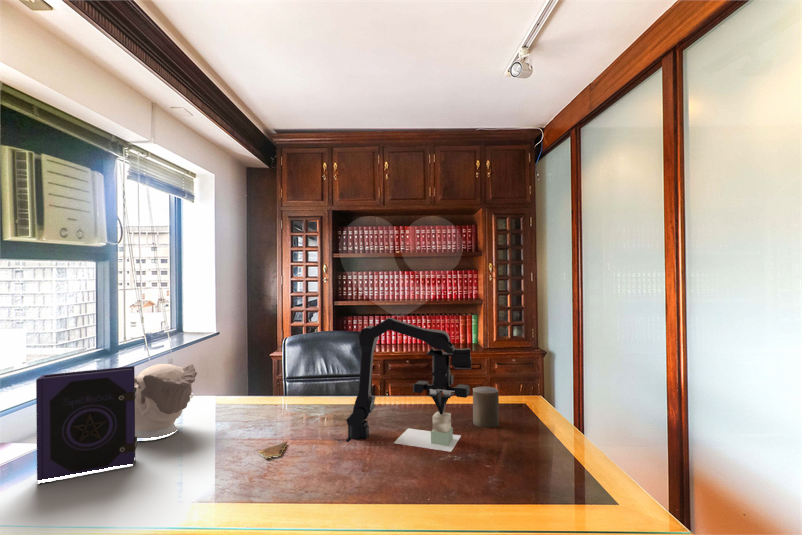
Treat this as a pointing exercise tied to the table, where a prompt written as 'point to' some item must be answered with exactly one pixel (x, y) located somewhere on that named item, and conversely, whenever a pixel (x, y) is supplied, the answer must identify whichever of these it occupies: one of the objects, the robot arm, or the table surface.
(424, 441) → the pale grey board
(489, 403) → the pillar candle
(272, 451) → the shard
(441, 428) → the cream block
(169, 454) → the table surface
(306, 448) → the table surface
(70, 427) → the book
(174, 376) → the bust
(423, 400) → the table surface
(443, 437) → the green block
